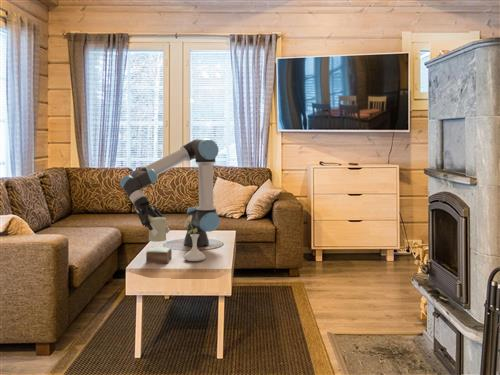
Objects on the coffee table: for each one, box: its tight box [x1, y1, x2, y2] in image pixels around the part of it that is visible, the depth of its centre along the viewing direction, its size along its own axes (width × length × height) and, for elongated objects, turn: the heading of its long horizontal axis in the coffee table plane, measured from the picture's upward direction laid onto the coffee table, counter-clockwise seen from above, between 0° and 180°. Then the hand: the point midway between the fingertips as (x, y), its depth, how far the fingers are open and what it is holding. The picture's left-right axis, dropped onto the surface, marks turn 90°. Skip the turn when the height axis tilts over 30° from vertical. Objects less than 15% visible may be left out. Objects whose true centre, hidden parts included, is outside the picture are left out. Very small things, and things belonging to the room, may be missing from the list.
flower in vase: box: [182, 215, 206, 262], centre depth 265 cm, size 13×11×25 cm
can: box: [148, 216, 167, 243], centre depth 262 cm, size 9×9×12 cm
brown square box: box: [145, 246, 173, 265], centre depth 264 cm, size 11×11×6 cm
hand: (162, 233), depth 261 cm, fingers closed on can, 9 cm apart
